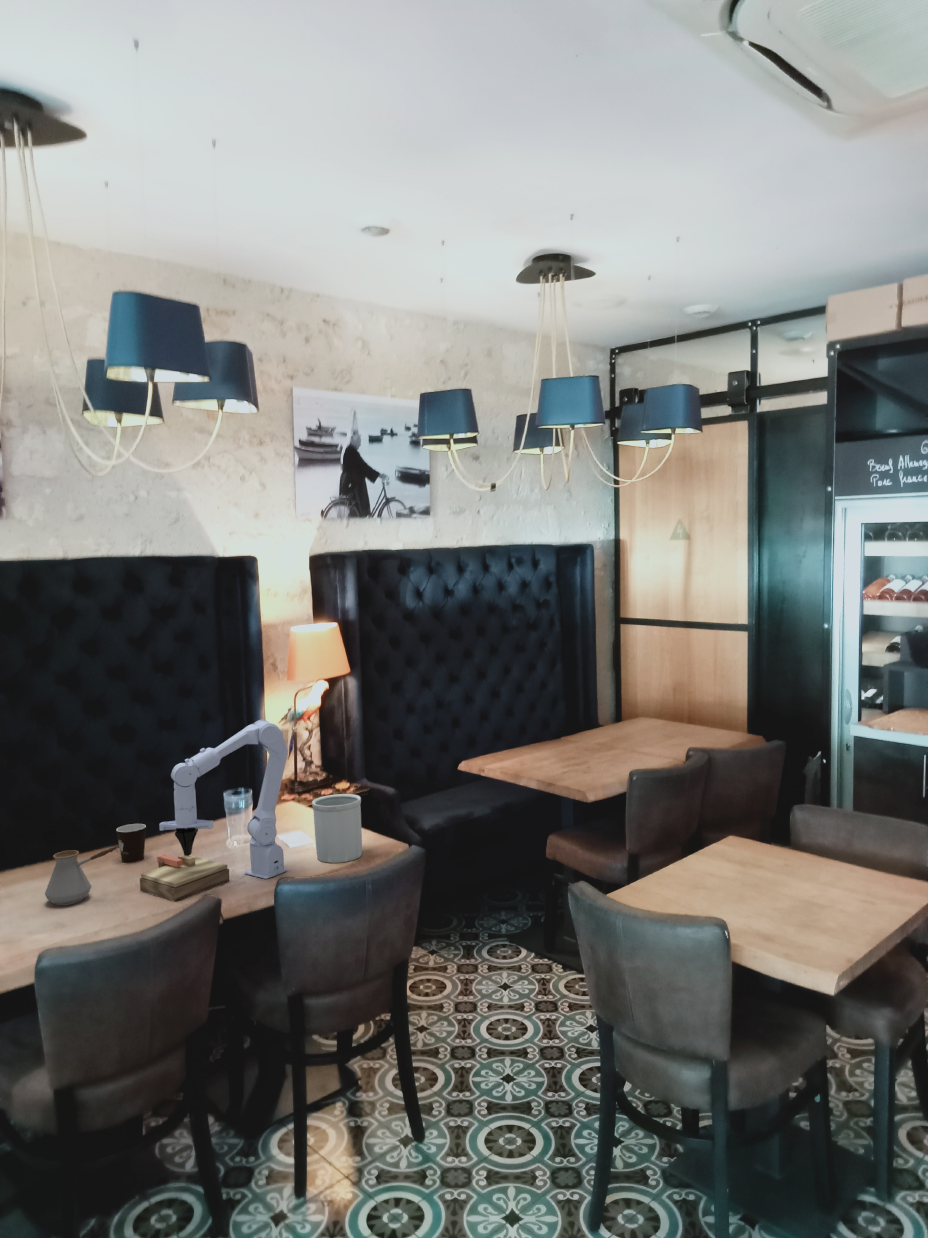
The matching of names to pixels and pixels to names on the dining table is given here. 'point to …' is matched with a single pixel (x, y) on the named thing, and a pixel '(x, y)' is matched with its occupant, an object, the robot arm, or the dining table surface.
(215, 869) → the lid
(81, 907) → the dining table surface
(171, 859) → the pink bar
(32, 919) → the dining table surface
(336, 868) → the dining table surface
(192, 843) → the robot arm
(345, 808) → the utensil holder
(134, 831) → the coffee mug
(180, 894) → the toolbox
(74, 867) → the coffee pot
